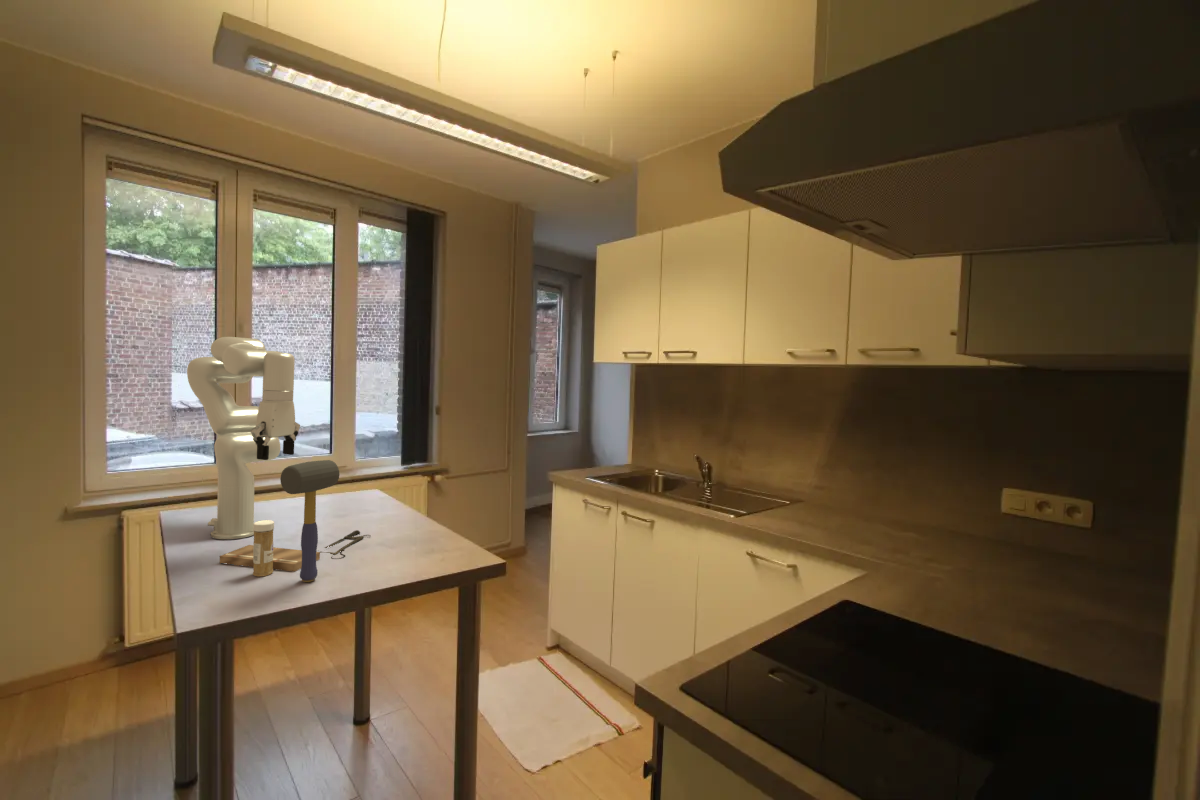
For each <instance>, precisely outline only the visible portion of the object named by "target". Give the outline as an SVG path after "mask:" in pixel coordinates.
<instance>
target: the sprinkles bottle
mask: <svg viewBox="0 0 1200 800" xmlns="http://www.w3.org/2000/svg"><path fill="white" fill-rule="evenodd" d="M274 529H275V521H273V520H271V519H267V520H266V519H265V520H258V521H254V524H253V530H254V535H253V544H252V545H253V563H254V567H253V571H252V575H253V576H255V577H259V578H260V577H266V576H270V575H272V574H273V573H274V569H273V547H274Z"/></svg>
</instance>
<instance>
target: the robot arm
mask: <svg viewBox="0 0 1200 800" xmlns="http://www.w3.org/2000/svg"><path fill="white" fill-rule="evenodd" d="M210 353H211V355H212V356H202V357H197V358H194V359H192V360H190V361H189V363H188V364H187V366H186V367H187V369H186V372H187V373H186V375H187V380H188V381H187V382H188V384H189V387H190V389H191V390H192V392H193V393H194V395H195V397H197V399H198V400H199V402H200V403H201V405H202V406H203V408H204V413H205V414H206V415H205V416H206V418H207V420H208V422H209V425H210V427H211V429H212V431H213V433H215V435H217V436H218V437H217V439H216V440H215V442H214V446H213V447H214V448H213V449H214V455H215V460H216V468H217V504H216V505H217V508H216V509H217V512H216V513H217V515H216V518H215V517H213V518H211V519H210V521H208V522H207V526H209V527H213V530H212V531H211V532H210V538H212V539H217V540H237V539H245V538H248V537H253V536H254V530H253V524H254V523H255V520H254V519H255V475H254V473H253V472H252V470H251V469H250V468H249V467H248V466H247V464H251V463H255V462H256V463H257V462H266V461H271V460H275V459H276V458H277V457H279V455H280V454H281V453H280V452H281V442H280V439H279V438H280V437H282V438H283V439H284V440H283V441H282V454H283V455H291V456H293V455H294V454H295V441H297V436H298V435H299V430H300V428H301V424H299V423H298V422H296V409H295V403H294V385H295V381H294V380H295V363H296V362H295V360H296V359H295V357H294V355H293V354H292V353H287V352H282V351H276V350H266V346H265V344H264V343H263V342H262V341H261V340H259V339H257V338H254V337H253V338H252V337H251V338H250V337H248V338H247V337H237V336H236V337H235V336H222V337H219V338H217V339H215V340H214V341H213V342H212V343H211V346H210ZM253 377H262V397H261V398H262V399H261V400H262V401H259V404H258V405H259V406H255V405H253V406H252V405H245V406H244V405H238V404H237V403H236V401H235V398H234V396H233V395H232V394H231V392H230V391H228V390H227V389H226V388H224V387H223V386H221V385H219V384H244V383H245V384H246V383H249V381H251V380H252V379H253Z"/></svg>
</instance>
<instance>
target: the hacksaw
mask: <svg viewBox="0 0 1200 800" xmlns="http://www.w3.org/2000/svg"><path fill="white" fill-rule="evenodd" d="M357 534H359V535H357ZM360 534H361V531H360V530H354V531H352V532H350V533H349V534H347V535H345V536H344V537H343V538H340V539H337V540H336V541H335V542H333V543H331V544H329V545H327V546H325V547H324V548H327V547H328V546H329V547H330V546H332V547H334V546H336V545H337V543H338V544H339V543H341V542H344V541H345V540H352V541H351V542H349V543H347V544H345V545H344V546H343V547H341V548H340V549H338V550H336V551H335V552H329V551H328V552H325V553H330V555H332V556H331V557H330V559H332V560H339V559H340V560H341V559H344V558H346V554H343V552H345V549H348V548H349V547H351V546H353V545H354V544H355V543H357V542H359V541H362V540H363V539H364V537H367V536H368V537H367V538H371V537H372V536H371V534H363V535H360ZM354 535H355V536H354ZM352 536H353V537H352ZM335 544H336V545H335ZM352 544H353V545H352ZM333 545H334V546H333ZM350 545H351V546H350ZM330 548H331V547H330ZM340 551H341V552H340ZM342 551H343V552H342ZM320 553H323V551H320ZM339 553H340V554H339ZM338 554H339V555H341V557H337V558H336V557H333V555H334V556H336V555H338Z"/></svg>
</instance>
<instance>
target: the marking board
mask: <svg viewBox="0 0 1200 800" xmlns="http://www.w3.org/2000/svg"><path fill="white" fill-rule="evenodd" d="M320 552H321V551H320ZM320 552H317V551H316V562H317V561H318V560H320V559H321V554H320ZM221 563H227V564H226V565H230V564H234V565H233V566H239V565H243V566H242V567H248V566H249V567H250V568H254V563H253V544H248V545H245V546H242V547H239V548H237V549H234V550H232V551H229V552H227V553H223V554H222V555H219V564H221ZM249 567H248V568H249ZM301 567H302V549H292V548H283V547H274V546H273V570H275V569H277V570H278V571H284V572H285V571H287V572H297V571H300V570H301Z"/></svg>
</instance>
